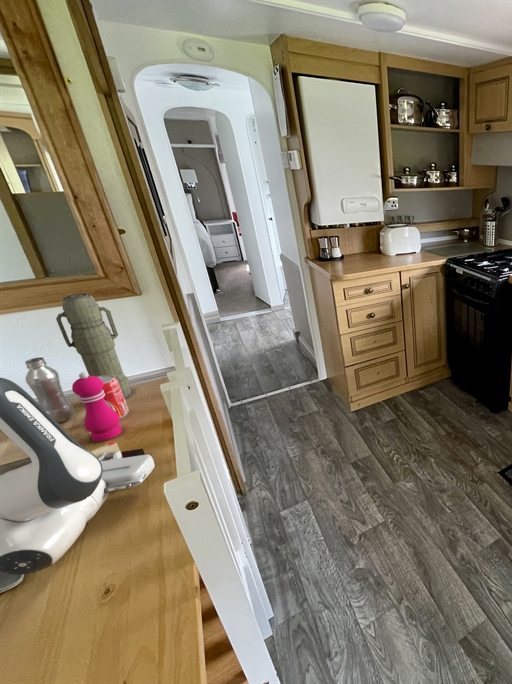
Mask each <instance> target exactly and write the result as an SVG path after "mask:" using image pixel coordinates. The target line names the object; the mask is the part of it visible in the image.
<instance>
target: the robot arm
mask: <svg viewBox="0 0 512 684" xmlns="http://www.w3.org/2000/svg"><path fill="white" fill-rule="evenodd" d="M0 430H1V432H3V433H4V434H5V436H7V437H8V438H9V439H10V440H11V441H12V442H13V443H14V444H15V445H16V446H17V447H18V448H19V449H20V450H21V451H22V452H23V453H24V454H25V455H26V456H27V457H28V458H29V459H30V461H31V462H30V463H27V464H24V465H22V466H20V467H17V468H15V469H12V470H9V471H7V472H4V473H2V474H0V573H3V574H6V575H13V576H17V575H18V576H21V575H22V576H23V575H30V574H34V573H37V572H40V571H42V570H46V569H47V568H49V567H51V566H53V565H55V563H57V561H59V560H61V558H62V557H63V556H64V555H65V554H66V552H67V551H68V550H69V549H71V547H72V546H73V545H74V543H75V542H76V541H77V540H78V538H79V537H80V536H81V534H82V533H83V532H84V529H85V527H86V524H87V522H89V521H90V520H91V519H92V518H94V517H95V515H96V513H97V512H98V511H99V510H100V508H101V507H102V506H103V504H104V503H105V501H106V500H107V499H108V497H109V495H110V493H112V492H118V491H122V490H123V491H124V490H131V489H133V488H135V487H137V486H139V485H140V484H142V483H143V482H144V481H145V480H146V479H147V477H148V476H149V475H150V474H151V473H152V471H154V468H155V466H156V465H155V461H154V458H153V457H152V456H151V455H150V454H149V453H148V454H145V455H140V456H133V457H127V458H121V456H122V454H121V452H122V451H121V450H120V451H114V452H107V453H104V454H103V455H102V456H101V457H99V458H97V457H96V456H95V455H94V454H93V453H92V452H91V451H90V450H89V449H87V448H86V447H85V446H83V445H82V444H80V443H79V442H77V440H75V439H74V438H73V437H72V436H71V435H70V434H69V433H68V432H67V431H66V430H65V429H64V428H63V427H62V426H61V425H60V424H59V423H57V422H56V421H55V420H54V419H53V418H52V417H51V416H50V415H49V414H48V413H47V412H46V411H45V410H44V409H43V408H42V407H41V406H40V404H39V402H37V400H35V399H34V398H33V397H32V396H31V394H29V393H28V392H27V391H26V390H25V389H23V388H22V387H21V386H20V385H19V384H17V383H15V382H14V381H13V380H10V379H8V378H6V377H5V378H4V377H0Z"/></svg>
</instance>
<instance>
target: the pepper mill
mask: <svg viewBox="0 0 512 684" xmlns="http://www.w3.org/2000/svg"><path fill="white" fill-rule="evenodd" d="M78 377H79V378H77V379H76V380H74V382H73V383H72V386H71V389H72V392H73V393H74V395H77V396H78V399H79V402H80V403H81V404H84V407H85V416H84V420H83V426H84V428H85V430H86V431H87V432H89V433H90V437H91V439H92V441H94V442H104V441H109V440H111V439H114V438H115V437H117V436H119V435H121V433H122V431H123V429H122V426H121V424H120V421H121V419H120V417H119V415H118V414H117V412H116V411H114V410H113V409H112V408H110V407H109V406H108V405H107V404H106V403H105V400H104V396H105V393H104V391H103V390H102V388H103V385H104V384H103V381H102V380H101V379H100V378H98V377H96V376H89V375H88V372H87V371H85V372H84V371H83V372H80V373H79V375H78Z"/></svg>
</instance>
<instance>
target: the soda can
mask: <svg viewBox="0 0 512 684" xmlns="http://www.w3.org/2000/svg"><path fill="white" fill-rule="evenodd" d="M98 378H100V379H101V380H102V381H103V384H104V385H103V388H102V390H103V391H104V393H105V396H104V400H105V403H106V404H107V405H108V406H109V407H110V408H112V409H113V410H114V411H116V412H117V414H118V415H119V417H120V420H122V419H124V418H125V417H126V416H127V415H128V413H129V411H130V410H129V407H128V405H127V401H126V398H125V399H124V396H123V393H122V391H121V388H120V385H119V383H118V381H117V380H116V379H115V378H114V376H113V375H103V376H98Z"/></svg>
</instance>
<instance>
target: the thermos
mask: <svg viewBox="0 0 512 684" xmlns="http://www.w3.org/2000/svg"><path fill="white" fill-rule="evenodd" d="M61 308H62V310H63V311H62V312H61V313H60V312H59V313H58V314H57V316H56V318H55V320H56V323H57V325H58V328H59V330H60V332H61V334H62V336H63V339H64V341H65V344H66V345H67V347H68V348H72V347H73V348H74V349H75V350H76V353H77V354H79V355H80V357H81V359H82V362H83V364H84V367H85V369H86V373H88V375H89V376H96V377H98V376H103V375H113V376H114V378H115V379H116V380H117V381H118V383H119V385H120V388H121V391H122V393H123V396H124V399H125V400H126V399H127V398H129V397H130V396H131V395H132V393H133V392H132V389H131V384H130V381H129V378H128V377H127V376H126V375H125V373H124V371H123V368H122V366H121V362H120V360H119V357H118V355H117V354H118V353H117V352H116V349H115V346H116V344H115V339H117V337H118V336H119V333H118V330H117V328H116V325H115V323H114V318H113V315H112V313H111V312H112V311H111V310H109V309H108V308H106V307H105V306H99V304H98V303H97V301H96V299H95V298H94V297H93V295H91V294H88V293H73V294H69V295H66V296H65V297H63V298H62V306H61ZM102 311H103V312H105V315H106V318H107V321H108V323H109V326H110V328H111V329H110V328H109V327H108V326H107V325H106V323H105V321H104V320H103V314H102ZM62 318H66V320H67V323H68V324H69V326H70V330H71V334H70V338H71V341H70V339H69V337H68V333H67V331H66V329H65V326H64V324H63V321H62ZM111 331H112V332H111Z"/></svg>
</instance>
